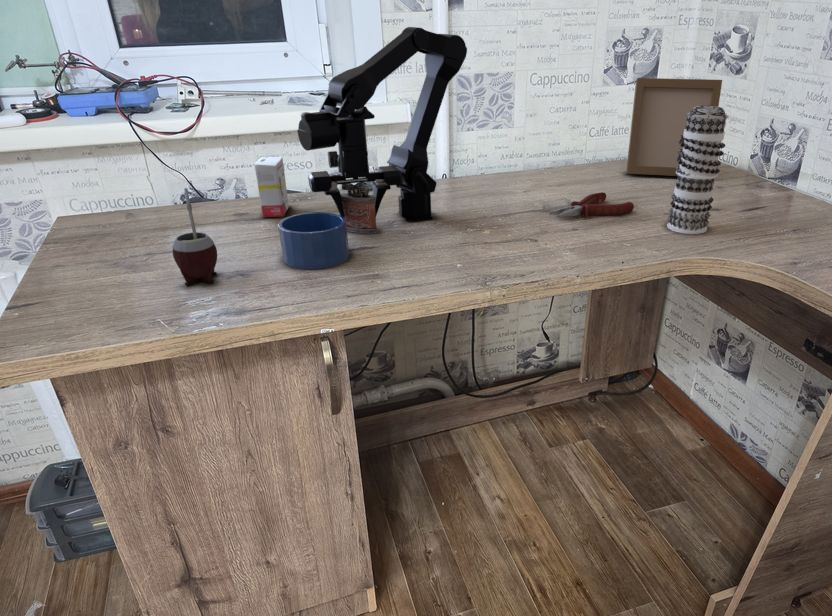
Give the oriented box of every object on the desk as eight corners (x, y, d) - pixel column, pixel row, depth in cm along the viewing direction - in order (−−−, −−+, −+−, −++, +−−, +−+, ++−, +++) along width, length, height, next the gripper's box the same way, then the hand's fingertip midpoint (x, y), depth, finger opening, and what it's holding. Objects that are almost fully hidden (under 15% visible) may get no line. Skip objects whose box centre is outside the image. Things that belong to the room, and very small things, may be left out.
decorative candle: (657, 227, 137) (676, 107, 125) (677, 218, 143) (697, 102, 131) (696, 237, 132) (720, 112, 120) (715, 227, 138) (740, 107, 125)
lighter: (380, 229, 136) (377, 183, 131) (373, 234, 133) (369, 187, 128) (347, 225, 138) (342, 180, 133) (339, 230, 135) (334, 184, 130)
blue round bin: (343, 242, 129) (339, 209, 125) (354, 264, 118) (350, 228, 115) (280, 250, 125) (275, 215, 121) (286, 273, 115) (281, 236, 111)
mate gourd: (197, 291, 108) (177, 205, 100) (168, 281, 111) (147, 197, 104) (232, 276, 113) (216, 194, 106) (204, 267, 117) (186, 187, 109)
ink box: (283, 217, 143) (276, 164, 137) (261, 217, 142) (253, 165, 137) (290, 206, 150) (283, 155, 144) (269, 206, 150) (261, 156, 144)
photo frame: (707, 180, 172) (726, 82, 160) (626, 177, 175) (638, 80, 163) (699, 167, 185) (716, 75, 172) (624, 164, 188) (635, 74, 175)
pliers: (537, 213, 146) (537, 202, 144) (601, 200, 155) (603, 190, 154) (569, 227, 137) (570, 215, 136) (635, 213, 147) (636, 202, 146)
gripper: (388, 133, 136) (392, 204, 144) (300, 139, 130) (310, 212, 138) (401, 143, 127) (405, 218, 135) (307, 150, 121) (317, 227, 129)
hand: (359, 218), depth 134 cm, fingers closed on lighter, 6 cm apart
